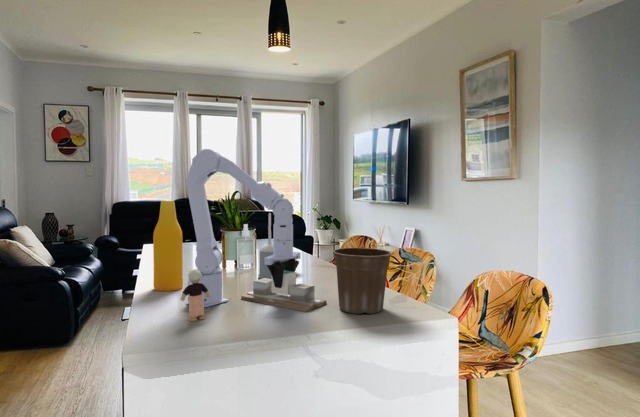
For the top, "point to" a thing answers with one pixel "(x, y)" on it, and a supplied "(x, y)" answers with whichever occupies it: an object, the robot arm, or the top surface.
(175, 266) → the beer bottle
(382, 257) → the plant pot
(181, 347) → the top surface
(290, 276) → the block
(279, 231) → the robot arm
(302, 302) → the board
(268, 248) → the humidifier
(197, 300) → the grandmother figurine
